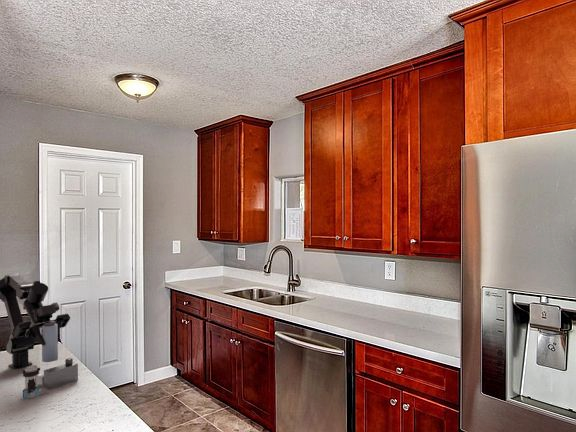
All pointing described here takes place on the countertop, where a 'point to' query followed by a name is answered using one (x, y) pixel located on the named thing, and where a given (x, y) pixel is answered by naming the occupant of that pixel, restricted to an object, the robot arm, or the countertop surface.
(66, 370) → the motor block
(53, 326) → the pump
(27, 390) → the push button
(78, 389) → the countertop surface
